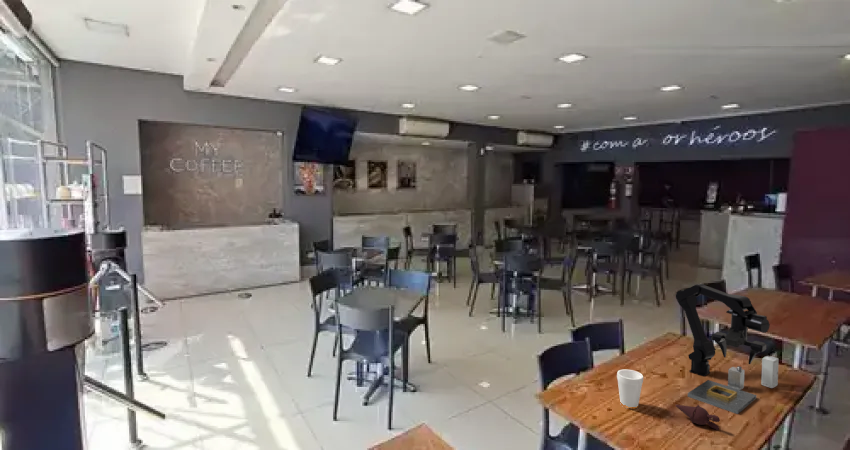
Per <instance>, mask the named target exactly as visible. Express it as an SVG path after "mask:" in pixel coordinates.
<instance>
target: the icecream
mask: <svg viewBox="0 0 850 450" xmlns="http://www.w3.org/2000/svg"><path fill="white" fill-rule="evenodd" d="M675 407H676V408H677V409H678V410H680V411H681V412H682V413H683V414H684V415H685V416H687V417H688V418H689V419H690V421H691V423H692V424H696V425H701V426H704V425H708V426H709V427H710V428H712V429H713V430H716V431H719V430H720V426H719V425H718V424H716V423H719V422H720V421H721V419H720V417H719V416H717V415H716V414H710V413H709V412H708V411H707V409H705V408H704V407H702V406H700V405H699V404H697V405H696V406H691V405H684V404H683V405H682V404H681V405H680V404H675Z"/></svg>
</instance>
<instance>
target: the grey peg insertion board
mask: <svg viewBox="0 0 850 450" xmlns="http://www.w3.org/2000/svg"><path fill="white" fill-rule="evenodd" d="M687 397H688V398H690V399H694V400H696V401H699V402H702V403H705V404H707V405H710V406H713V407H715V408H718V409H722V410H724V411H728V412H730V413H733V414H736V415H739V413H741V412H742V411H743V410H744V409H747V407H748V406H750V405H751V404H752V403H754V402H755V400H757V394H754V393H751V392H747V391H744V390H743V389H741V390H739V389H735V388H732V387H729V386H728V385H726V384H723V383H719V382H715V381H712V380H710V379H707V380H705V381H704V382H703V383H701V384H700V385H698V386H697V387H695V388H693V389H692V390H690V391H688V392H687Z"/></svg>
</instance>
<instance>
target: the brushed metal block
mask: <svg viewBox="0 0 850 450" xmlns="http://www.w3.org/2000/svg"><path fill="white" fill-rule="evenodd" d="M727 386H729V387H732V388H735V389H739V390H743V389H744V388H745V369H743V367H742V366H738V365H737V366H730V368H728V374H727Z"/></svg>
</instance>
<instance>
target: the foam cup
mask: <svg viewBox="0 0 850 450" xmlns="http://www.w3.org/2000/svg"><path fill="white" fill-rule="evenodd" d="M616 379H617V385H618V393H619V394H618V395H619V400H620V402H621V403H622V404H623V405H626V406H628V407H637V406H638V407H639V404H640V403H639V402H640V398H641V392H642V386H643V383H644V376H643V374H642V373H641V372H639V371H637V370H634V369H619V370H617V373H616ZM621 403H620V404H621Z"/></svg>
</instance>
